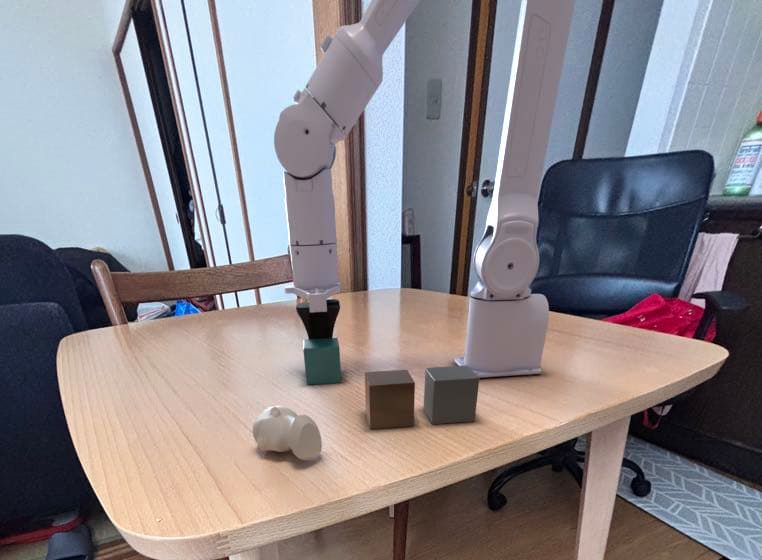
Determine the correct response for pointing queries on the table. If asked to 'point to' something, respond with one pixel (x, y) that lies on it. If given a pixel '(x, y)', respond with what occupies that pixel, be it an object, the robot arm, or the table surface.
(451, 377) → the grey block
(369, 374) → the walnut block
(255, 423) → the smooth white sculpture
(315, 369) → the teal block
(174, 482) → the table surface
